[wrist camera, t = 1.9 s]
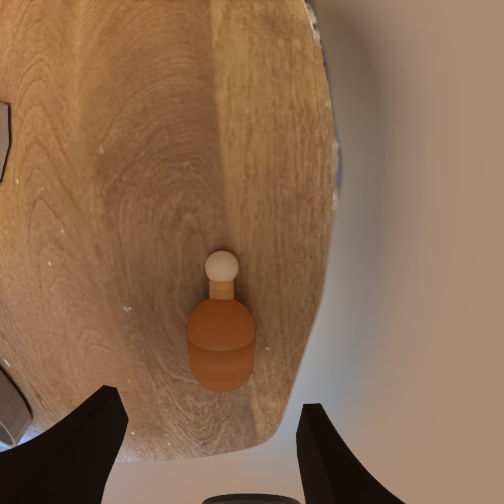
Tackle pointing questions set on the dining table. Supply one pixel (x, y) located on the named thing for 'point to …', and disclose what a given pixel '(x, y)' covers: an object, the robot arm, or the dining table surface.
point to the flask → (3, 134)
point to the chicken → (221, 330)
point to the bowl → (12, 413)
